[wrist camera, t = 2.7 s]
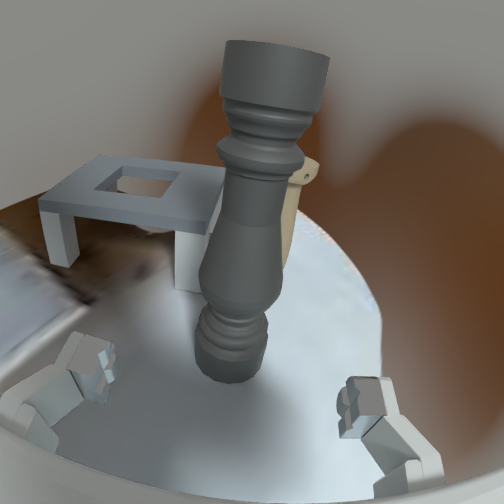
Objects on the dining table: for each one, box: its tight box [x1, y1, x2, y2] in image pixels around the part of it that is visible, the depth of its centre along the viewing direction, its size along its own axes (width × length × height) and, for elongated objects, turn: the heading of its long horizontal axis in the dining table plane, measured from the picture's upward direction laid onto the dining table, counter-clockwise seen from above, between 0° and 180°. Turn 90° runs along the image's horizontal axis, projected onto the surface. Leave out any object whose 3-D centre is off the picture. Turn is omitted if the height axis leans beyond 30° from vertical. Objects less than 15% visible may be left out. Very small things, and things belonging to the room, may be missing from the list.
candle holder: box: [195, 40, 330, 384], centre depth 21 cm, size 6×6×25 cm
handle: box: [281, 157, 319, 268], centre depth 34 cm, size 5×6×15 cm
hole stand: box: [38, 155, 226, 293], centre depth 39 cm, size 20×16×9 cm
